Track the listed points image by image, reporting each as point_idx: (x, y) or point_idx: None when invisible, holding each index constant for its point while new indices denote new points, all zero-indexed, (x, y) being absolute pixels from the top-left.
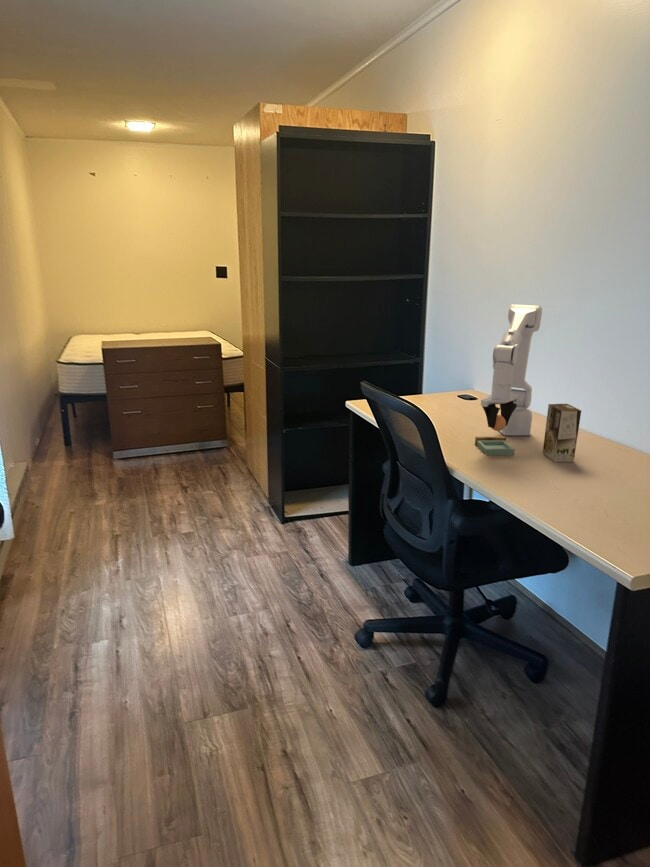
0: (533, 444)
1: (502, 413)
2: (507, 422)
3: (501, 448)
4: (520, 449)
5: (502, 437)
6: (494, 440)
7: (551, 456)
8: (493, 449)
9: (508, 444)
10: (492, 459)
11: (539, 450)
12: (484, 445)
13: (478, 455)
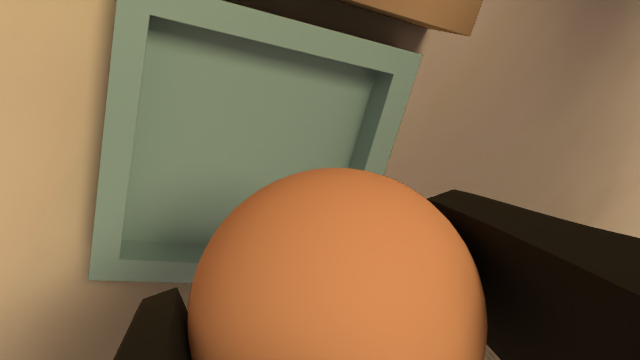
0: (609, 73)
1: (582, 314)
2: None
3: (306, 163)
4: (452, 160)
5: (437, 19)
6: (344, 1)
7: (486, 357)
8: (165, 281)
9: (379, 173)
10: (106, 343)
11: (541, 198)
12: (126, 166)
13: (12, 253)
